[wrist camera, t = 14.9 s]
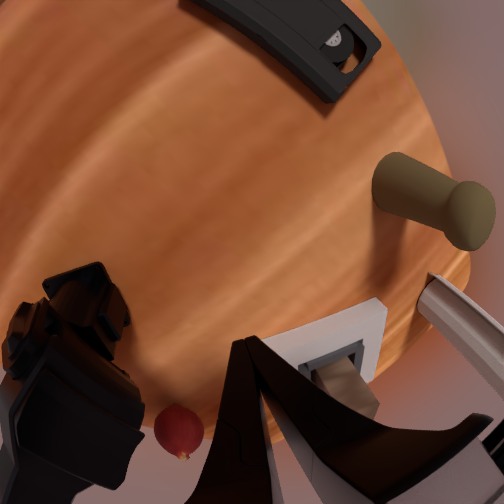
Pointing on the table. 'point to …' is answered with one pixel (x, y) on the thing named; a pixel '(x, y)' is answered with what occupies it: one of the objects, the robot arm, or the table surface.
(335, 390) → the walnut peg
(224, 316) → the table surface
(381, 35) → the table surface
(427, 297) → the paper towel roll
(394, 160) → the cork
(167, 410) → the onion
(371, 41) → the vhs tape
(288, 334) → the collar block
